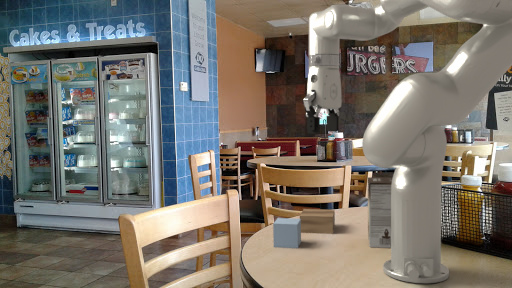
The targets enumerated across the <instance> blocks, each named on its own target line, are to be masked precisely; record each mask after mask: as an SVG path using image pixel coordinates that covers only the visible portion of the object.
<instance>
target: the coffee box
mask: <svg viewBox="0 0 512 288" xmlns="http://www.w3.org/2000/svg"><path fill="white" fill-rule="evenodd" d="M392 179H393V176H391V177H383V176H382V177H380V176H379V177H376V176H375V177H373V176H372V177H371V176H370V177H367V234H368V235H367V236H368V237H367V238H368V246H369V247H370V248H384V249H391V185H392Z"/></svg>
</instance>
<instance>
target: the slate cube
mask: <svg viewBox="0 0 512 288" xmlns="http://www.w3.org/2000/svg"><path fill="white" fill-rule="evenodd" d="M272 225H273V227H272V229H273V230H272V231H273V236H272V237H273V248H283V249H284V248H287V249H299V246H300V245H301V242H302V233H301V219H300V218H290V217H289V218H285V217H282V218H281V217H277V218H276V220H275V221H273V224H272Z"/></svg>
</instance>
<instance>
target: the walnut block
mask: <svg viewBox="0 0 512 288" xmlns="http://www.w3.org/2000/svg"><path fill="white" fill-rule="evenodd" d="M335 211H336V210H335V209H321V208H320V209H318V208H314V209H312V208H303V209H302V211H301V213H300V214H299V219H301V234H325V235H333V234H334V230H335V226H336V221H335V220H336V219H335V218H336V217H335V216H336V215H335V214H336V213H335Z"/></svg>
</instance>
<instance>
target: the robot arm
mask: <svg viewBox="0 0 512 288" xmlns="http://www.w3.org/2000/svg"><path fill="white" fill-rule="evenodd" d="M427 8H431V9H433V10H434V11H436V12H438V13H440V14H442V15H444V16H446V17H448V18H450V19H453V20H456V21H461V22H467V23H473V24H479V25H482V27H481V29H480V30H479V31H478V32H477V33H475V34H474V35H472V36H471V37H470V38H469V39H468V40H466V41H465V42H464V43H463V44H462V45H461V46H460V47H459V48H458V49H457V51H456V52H455V53H454V54H453V56H452V58H451V59H450V60H449V61H448V63H446V65H445V66H444V67H443V68H442V69H441V70H440V71H437V72H417V73H412V74H410V75H408V76H406V77H405V78H403V79H402V80H401V81H399V82H398V83H397V85H396V86H395V87H394V88H393V89H392V91H391V92H390V93H389V94H388V96H387V98H386V99H385V100H384V102H383V103H382V104H381V106H380V107H379V109H378V110H377V112H376V114H374V116H373V118H372V119H371V120H370V121H369V123H368V125H367V127H366V129H365V130H364V133H363V137H362V141H361V142H362V144H361V145H362V146H361V147H362V152H363V155H364V157H365V159H366V160H367V161H368V162H369V163H370V164H371V165H374V166H375V167H377V168H382V169H392V168H393V169H394V173H393V174H392V178H393V179H392V185H391V248H390V254H391V255H390V257H391V258H390V259H388V260H387V261H385V262H384V263H383V265H382V266H383V267H382V270H383V272H384V273H385V274H386V275H387V276H388V277H390V278H392V279H396V280H398V281H402V282H407V283H412V284H413V283H415V284H436V283H440V282H444V281H446V280H447V279H449V277H450V270H449V268H448V267H447V266H446V265H444V264H443V263H442V261H441V260H442V253H441V252H442V251H441V250H442V182H443V178H442V177H443V169H444V164H445V159H446V152H447V146H448V145H447V144H448V143H447V135H446V132H445V129H444V128H443V127H444V126H445V127H446V126H452V125H457V124H459V123H462V122H463V121H464V120H465V119H467V118H468V116H469V115H470V114H471V113H472V112H473V110H475V109H476V107H477V106H478V105H479V104H480V103H481V102H482V101H483V99H484V98H485V97H486V96H487V94H488V93H490V91H491V90H492V89H493V88H494V87H495V86H496V84H497V83H498V82H499V80H500V79H501V78H502V77H503V76H504V75H505V73H507V72H508V70H509V69H511V67H512V0H379V3H378V4H376V5H374V6H371V7H368V8H366V7H362V6H355V5H347V4H332V5H331V6H328V7H327V8H325V9H324V10H319V11H315V12H312V13H311V14H310V15H309V19H308V75H307V76H308V77H307V85H306V89H307V90H306V95H305V97H304V98H303V106H304V110H305V117H306V122H307V123H306V133H307V134H314V135H316V134H317V135H318V134H320V133H321V129H320V128H321V127H320V126H321V124H320V123H321V121H320V119H321V117H320V116H319V115H320V112H321V110H322V109H324V110H326V113H327V114H328V115H326V131H327V132H339V122H340V121H339V118H340V110H341V107H342V100H343V99H342V82H341V73H340V40H352V41H353V40H355V41H371V40H374V39H376V38H379V37H382V36H384V35H386V34H389V33H391V32H393V31H394V30H395V29H397V28H398V27H399V26H400V25H401V24H402V22H403V20H404V19H405V18H406V17H408V16H411V15H413V14H415V13H417V12H420V11H422V10H424V9H427ZM395 168H396V169H395Z"/></svg>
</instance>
